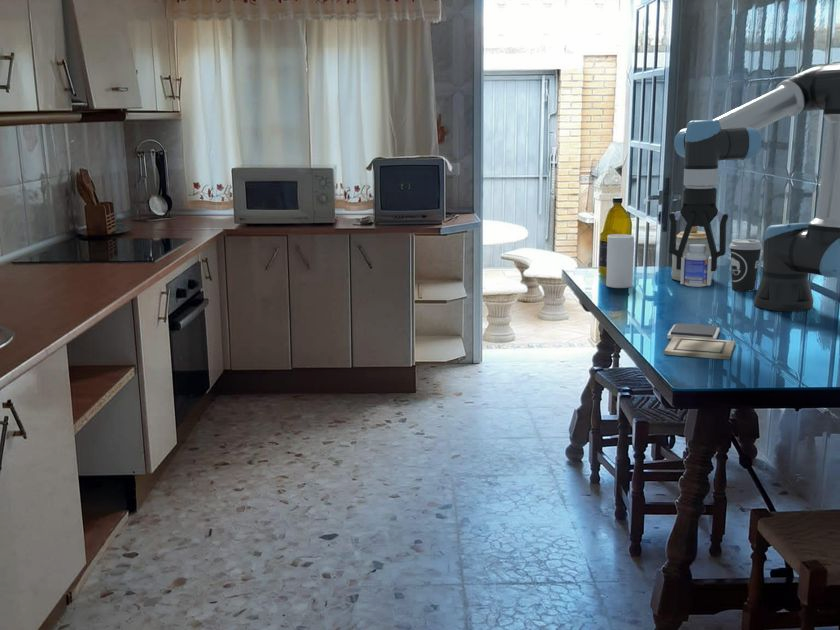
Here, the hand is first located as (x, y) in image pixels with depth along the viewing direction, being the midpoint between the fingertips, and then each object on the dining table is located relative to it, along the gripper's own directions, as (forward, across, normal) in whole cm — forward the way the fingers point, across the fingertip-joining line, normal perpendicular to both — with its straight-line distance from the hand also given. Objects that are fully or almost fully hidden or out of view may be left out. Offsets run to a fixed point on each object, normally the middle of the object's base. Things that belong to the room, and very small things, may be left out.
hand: (695, 283), depth 208 cm
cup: (+13, +30, -59) cm, 67 cm away
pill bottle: (+1, 0, 0) cm, 1 cm away
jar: (+13, +10, -77) cm, 79 cm away
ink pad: (+13, 0, 0) cm, 13 cm away
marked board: (+13, -3, +13) cm, 19 cm away
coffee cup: (+13, -7, -63) cm, 65 cm away
